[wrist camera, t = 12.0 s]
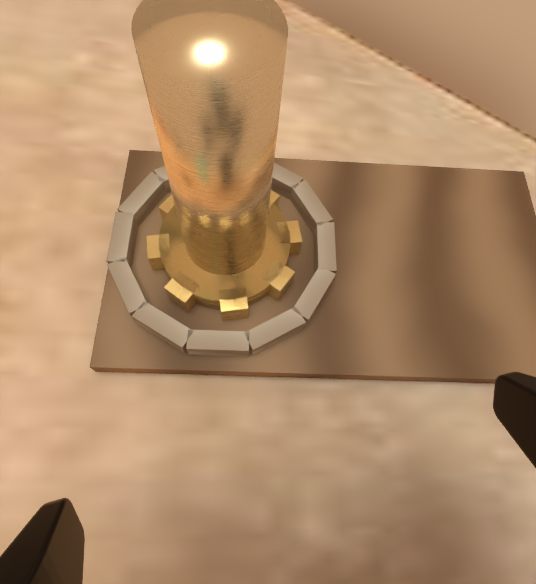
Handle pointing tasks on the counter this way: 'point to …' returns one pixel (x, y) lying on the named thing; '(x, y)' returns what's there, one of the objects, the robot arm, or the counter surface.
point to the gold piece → (217, 149)
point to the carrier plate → (343, 280)
